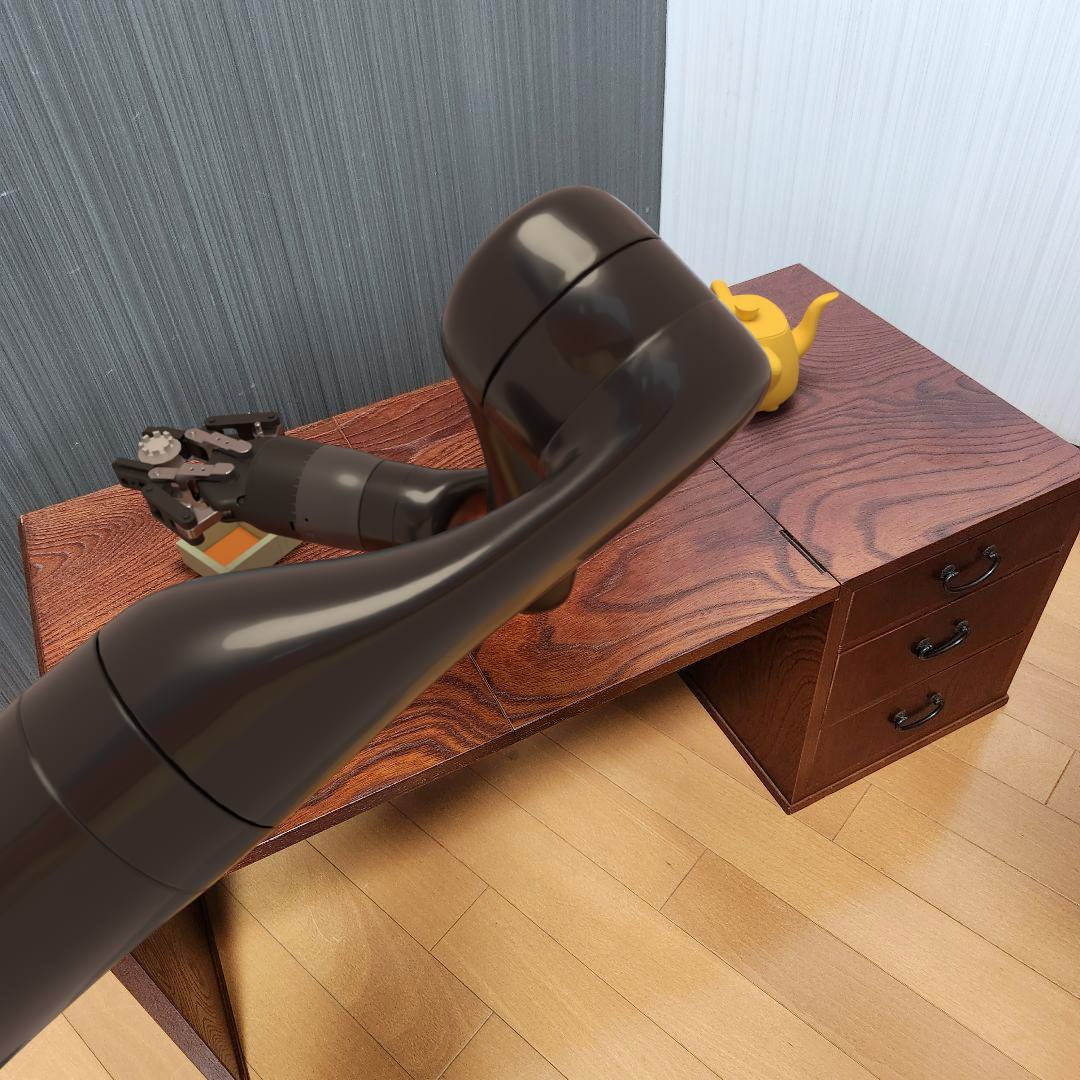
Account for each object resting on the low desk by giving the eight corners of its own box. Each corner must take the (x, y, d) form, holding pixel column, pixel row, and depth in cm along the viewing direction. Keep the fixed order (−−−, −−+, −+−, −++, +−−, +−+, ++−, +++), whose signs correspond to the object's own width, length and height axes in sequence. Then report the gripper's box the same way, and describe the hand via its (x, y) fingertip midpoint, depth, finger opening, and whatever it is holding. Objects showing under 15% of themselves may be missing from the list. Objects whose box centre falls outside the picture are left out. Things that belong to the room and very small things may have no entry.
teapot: (777, 449, 99) (796, 355, 90) (655, 409, 104) (662, 318, 96) (820, 379, 107) (840, 288, 98) (704, 346, 112) (714, 256, 104)
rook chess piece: (225, 512, 77) (196, 437, 72) (180, 542, 75) (145, 467, 69) (195, 489, 79) (164, 415, 74) (149, 518, 77) (114, 444, 72)
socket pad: (231, 597, 86) (223, 576, 84) (184, 563, 90) (175, 542, 87) (336, 515, 94) (331, 494, 92) (289, 487, 97) (283, 466, 95)
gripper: (358, 398, 71) (168, 364, 76) (265, 522, 62) (54, 475, 66) (375, 471, 77) (196, 436, 81) (291, 596, 68) (94, 548, 72)
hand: (133, 454), depth 74 cm, fingers closed on rook chess piece, 3 cm apart
